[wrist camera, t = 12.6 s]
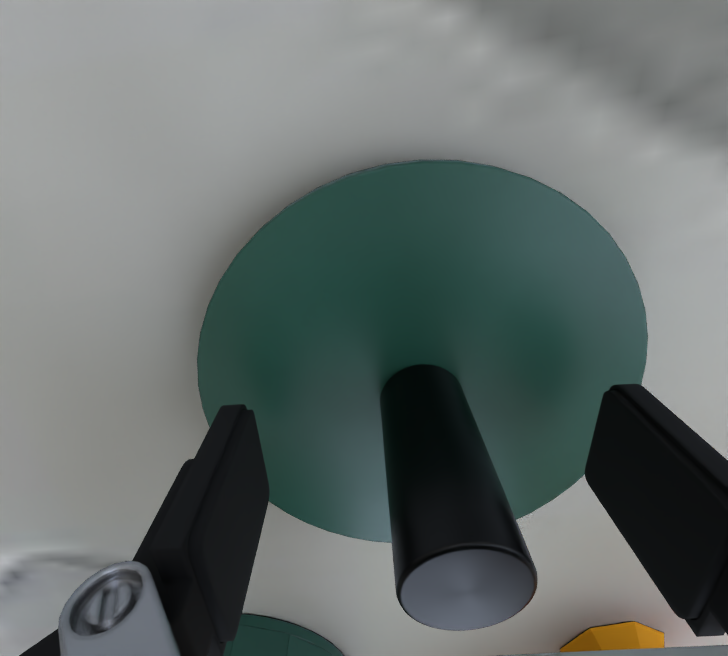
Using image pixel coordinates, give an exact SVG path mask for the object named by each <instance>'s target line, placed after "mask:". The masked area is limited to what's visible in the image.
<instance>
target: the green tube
mask: <svg viewBox="0 0 728 656" xmlns="http://www.w3.org/2000/svg"><path fill="white" fill-rule="evenodd" d="M223 656H344V655H343V654H342V652H341V651H340V650H339V649H337V648H336V647H335V646H334V645H333V644H332V643H330V642H329V641H327V640H326V639H324V638H323V637H321V636H319V635H317V634H316V633H314V632H312V631H310V630H307V629H305V628H302V627H300V626H298V625H295V624H291V623H288V622H285V621H282V620H277V619H273V618H268V617H262V616H255V615H248V614H241V618H240V622H239V626H238V630H237V634H236V637H235V639H234V640H233V641H227V643H226V647H225V651H224V655H223Z"/></svg>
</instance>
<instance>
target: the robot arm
mask: <svg viewBox="0 0 728 656" xmlns="http://www.w3.org/2000/svg"><path fill="white" fill-rule="evenodd" d="M585 477H586V480H587V482H588V484H589V486H590V487H591V489H592V490H593V492H594V493H595V495H596V496H597V498H598V499H599V501H600V502H601V504H602V505H603V507H604V508H605V510H606V511H607V513H608V514H609V516H610V517H611V519H612V520H613V522H614V523H615V525H616V526H617V528H618V529H619V531H620V532H621V534H622V535H623V537H624V538H625V540H626V541H627V543H628V544H629V546H630V547H631V549H632V550H633V552H634V553H635V555H636V556H637V558H638V559H639V561H640V562H641V564H642V565H643V567H644V568H645V570H646V571H647V573H648V574H649V576H650V577H651V579H652V580H653V582H654V583H655V585H656V586H657V588H658V589H659V591H660V592H661V594H662V595H663V597H664V598H665V600H666V601H667V603H668V604H669V606H670V607H671V609H672V610H673V611H674V613H675V614H676V615H677V616H678V617H680V618H682V619H685V620H686V622H687V623H688V625H689V626H690V627H691V629H692V630H693V632H694V633H695V635H696V636H697V637H699V636H719V635H724V633H725V632H726V633H727V634H728V460H726V459H725V458H724V457H723V456H722V455H721V454H720V453H718V452H717V451H716V450H715V449H714V448H713V447H712V446H710V445H709V444H708V443H707V442H706V441H705V440H703V439H702V438H701V437H700V436H699V435H698V434H697V433H695V432H694V431H693V430H692V429H691V428H690V427H689V426H687V425H686V424H685V423H684V422H683V421H682V420H681V419H679V418H678V417H677V416H676V415H675V414H674V413H673V412H671V411H670V410H669V409H668V408H667V407H666V406H665V405H663V404H662V403H661V402H660V401H659V400H658V399H656V398H655V397H654V396H653V395H652V394H651V393H650V392H648V391H647V390H646V389H645V388H644V387H643V386H641V385H640V384H618V385H613V386H611V387H610V389H609V391H605V393H604V394H603V397H602V401H601V405H600V409H599V413H598V417H597V421H596V425H595V430H594V434H593V438H592V442H591V446H590V450H589V454H588V458H587V462H586V466H585ZM269 494H270V489H269V482H268V477H267V472H266V467H265V462H264V458H263V453H262V448H261V443H260V438H259V433H258V429H257V424H256V419H255V414H254V411H253V410H252V409H251V410H247V407H246V406H245V405H244V404H239V405H223V406H221V407H220V409H219V411H218V413H217V415H216V417H215V419H214V421H213V423H212V425H211V427H210V429H209V431H208V433H207V435H206V437H205V439H204V440H203V442H202V444H201V446H200V448H199V450H198V452H197V454H196V456H195V458H194V459H189V460H187V461H186V462H185V463H184V464H183V466H182V468H181V469H180V471H179V473H178V475H177V477H176V479H175V481H174V483H173V485H172V487H171V488H170V490H169V492H168V494H167V496H166V498H165V500H164V502H163V504H162V505H161V507H160V509H159V511H158V513H157V515H156V517H155V519H154V521H153V523H152V524H151V526H150V528H149V530H148V532H147V534H146V536H145V538H144V540H143V541H142V543H141V545H140V547H139V549H138V551H137V553H136V555H135V557H134V559H133V560H132V561H124V562H120V563H115V564H112V565H110V566H108V567H106V568H103V569H101V570H99V571H98V572H97V573H95V574H94V575H92V576H91V577H89V578H88V579H87V580H85V581H84V582H83V583H82V584H81V585H80V586H79V587H78V588H77V589H76V590H75V591H74V593H73V594H72V595H71V597H70V598H69V599H68V601H67V602H66V603H65V606H64V608H63V610H62V612H61V615H60V617H59V626H58V629H57V630H55V631H54V632H53V633H51V634H50V635H48V636H47V637H45V638H44V639H42V640H41V641H40V642H38V643H37V644H35V645H34V646H32V647H31V648H29V649H28V650H27V651H25V652H24V653H22V654H21V655H19V656H223V655H224V651H225V647H226V643H227V641H233V640H234V639H235V637H236V634H237V630H238V626H239V622H240V618H241V614H242V610H243V605H244V601H245V597H246V593H247V589H248V585H249V581H250V576H251V572H252V568H253V564H254V560H255V556H256V551H257V547H258V543H259V539H260V535H261V531H262V526H263V522H264V518H265V514H266V510H267V506H268V501H269ZM498 656H728V645H717V646H694V647H671V648H648V649H624V650H601V651H581V652H560V653H539V654H518V655H498Z"/></svg>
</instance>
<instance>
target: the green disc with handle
mask: <svg viewBox="0 0 728 656" xmlns="http://www.w3.org/2000/svg"><path fill="white" fill-rule="evenodd" d="M647 341H648V334H647V323H646V313H645V307H644V304H643V300H642V296H641V293H640V289H639V285H638V283H637V280H636V278H635V276H634V274H633V272H632V270H631V267H630V265H629V263H628V261H627V259H626V257H625V256H624V254H623V253H622V251H621V250H620V248H619V247H618V246H617V244H616V243H615V241H614V240H613V238H612V237H611V236H610V234H609V233H608V232H607V231H606V230H605V229H604V228H603V227H602V226H601V225H600V224H599V223H598V222H597V221H596V220H595V219H594V218H593V217H592V216H591V215H590V214H589V213H588V212H587V211H586V210H584V209H583V208H581V207H580V206H579V205H577V204H576V203H575V202H573V201H572V200H570V199H569V198H568V197H566V196H565V195H563V194H562V193H560V192H558V191H556V190H554V189H552V188H550V187H548V186H546V185H544V184H542V183H540V182H538V181H536V180H534V179H532V178H530V177H527V176H524V175H520V174H517V173H514V172H511V171H508V170H505V169H502V168H498V167H495V166H491V165H484V164H478V163H472V162H466V161H460V160H413V161H405V162H397V163H389V164H383V165H380V166H376V167H372V168H369V169H365V170H361V171H358V172H354V173H350V174H348V175H346V176H343V177H341V178H339V179H336V180H334V181H332V182H329V183H327V184H325V185H322V186H320V187H318V188H316V189H314V190H313V191H311V192H309V193H308V194H306V195H304V196H303V197H301V198H299V199H298V200H296V201H295V202H293V203H291V204H290V205H288V206H287V207H286V208H284V209H283V210H282V211H281V212H280V213H278V214H277V215H276V216H275V217H273V218H272V219H271V220H270V221H269V222H267V223H266V224H265V225H264V226H263V227H262V228H261V229H260V230H259V231H258V232H257V233H256V234H255V235H254V236H253V237H252V238H251V240H250V241H249V242H248V243H247V244H246V245H245V246H244V247H243V248H242V249H241V250H240V252H239V253H238V254H237V255H236V257H235V258H234V260H233V261H232V263H231V264H230V266H229V267H228V269H227V270H226V272H225V273H224V275H223V276H222V278H221V279H220V281H219V283H218V285H217V287H216V290H215V292H214V294H213V296H212V298H211V300H210V303H209V305H208V307H207V311H206V314H205V318H204V321H203V325H202V328H201V332H200V339H199V347H198V356H197V369H198V387H199V392H200V397H201V402H202V407H203V411H204V413H205V416H206V419H207V422H208V424H209V427H211V425H212V423H213V421H214V419H215V417H216V415H217V413H218V411H219V409H220V407H221V406H223V405H239V404H244V405H245V406H246V407H247V410H251V409H252V410H253V411H254V414H255V419H256V424H257V429H258V433H259V438H260V443H261V448H262V453H263V458H264V462H265V467H266V472H267V477H268V482H269V489H270V494H269V502H271V503H272V504H274V505H275V506H277V507H279V508H280V509H282V510H283V511H285V512H286V513H288V514H290V515H292V516H294V517H296V518H298V519H300V520H302V521H304V522H306V523H308V524H311V525H313V526H316V527H318V528H321V529H324V530H326V531H329V532H333V533H337V534H340V535H344V536H347V537H352V538H357V539H363V540H369V541H376V542H388V543H392V550H393V562H394V574H395V585H396V595H397V598H398V601H399V603H400V605H401V607H402V608H403V610H404V611H405V612H406V613H407V614H408V615H409V616H410V617H411V618H413V619H414V620H416V621H417V622H420V623H422V624H424V625H427V626H430V627H433V628H437V629H443V630H454V631H460V630H473V629H480V628H484V627H488V626H492V625H495V624H498V623H500V622H502V621H505V620H507V619H509V618H511V617H512V616H514V615H515V614H517V613H518V612H520V611H521V610H522V609H523V608H524V607H525V606H526V605H527V604H528V603H529V602H530V601H531V599H532V598H533V596H534V594H535V591H536V588H537V571H536V568H535V566H534V563H533V561H532V558H531V556H530V553H529V551H528V548H527V546H526V544H525V541H524V539H523V536H522V534H521V531H520V529H519V526H518V524H517V522H516V519H518V518H520V517H523V516H525V515H527V514H529V513H531V512H533V511H535V510H536V509H538V508H540V507H541V506H543V505H545V504H546V503H548V502H550V501H551V500H553V499H554V498H556V497H557V496H558V495H560V494H561V493H563V492H564V491H565V490H567V489H568V488H569V487H571V486H572V485H573V484H574V483H575V482H577V481H578V480H579V479H580V478H581V477H582V476H583V475H584V474H585V466H586V462H587V458H588V454H589V450H590V446H591V442H592V438H593V434H594V430H595V425H596V421H597V417H598V413H599V409H600V405H601V401H602V397H603V394H604V393H605V391H609V389H610V387H611V386H613V385H618V384H640V385H641V383H642V378H643V374H644V369H645V365H646V356H647Z"/></svg>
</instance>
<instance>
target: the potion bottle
mask: <svg viewBox="0 0 728 656" xmlns="http://www.w3.org/2000/svg"><path fill="white" fill-rule="evenodd" d="M648 648H664V633H662V632H660V631H657V630H655V629H652V628H650V627H647V626H645V625H642V624H640V623H637V622H635V621H633V622H627V623H621V624H614V625H608V626H601V627H595V628H590V629H588V630H587V631H585V632H584V633H582V634H581V635H580V636H578V637H577V638H575V639H574V640H572V641H571V642H570V643H568V644H567V645H565V646H564V647H562V648H561V649H560V652H581V651H601V650H624V649H648Z"/></svg>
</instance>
